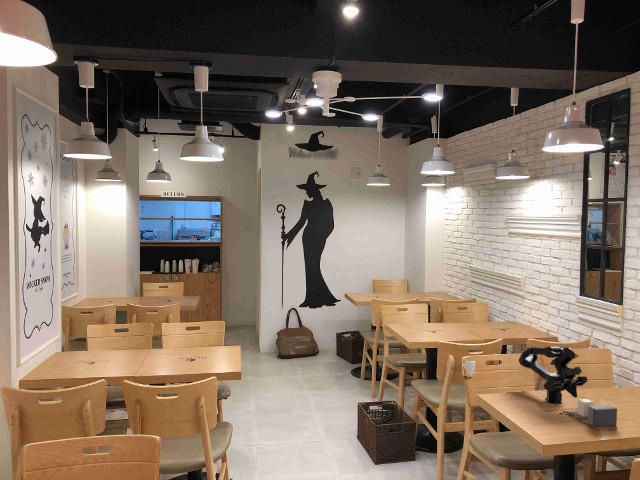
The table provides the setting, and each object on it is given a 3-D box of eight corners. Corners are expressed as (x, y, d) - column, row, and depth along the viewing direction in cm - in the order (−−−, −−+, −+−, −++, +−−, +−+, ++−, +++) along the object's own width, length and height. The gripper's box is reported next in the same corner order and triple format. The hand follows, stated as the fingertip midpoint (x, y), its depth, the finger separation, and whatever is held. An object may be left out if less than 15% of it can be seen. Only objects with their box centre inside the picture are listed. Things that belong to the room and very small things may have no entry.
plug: (577, 413, 247) (578, 399, 247) (586, 413, 248) (587, 398, 248) (587, 418, 241) (587, 404, 240) (596, 418, 242) (596, 403, 242)
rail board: (567, 413, 250) (567, 411, 250) (584, 412, 253) (584, 410, 253) (598, 430, 230) (598, 428, 230) (617, 429, 233) (617, 426, 233)
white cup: (475, 375, 312) (476, 359, 311) (473, 378, 305) (474, 362, 304) (462, 373, 315) (463, 357, 315) (460, 376, 308) (460, 360, 308)
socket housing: (587, 422, 236) (588, 405, 236) (608, 421, 238) (608, 404, 238) (595, 427, 231) (596, 409, 231) (616, 425, 234) (617, 408, 233)
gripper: (554, 361, 254) (568, 390, 244) (586, 360, 258) (601, 389, 248) (543, 372, 262) (556, 400, 252) (574, 371, 266) (589, 399, 256)
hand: (576, 397), depth 252 cm, fingers closed
